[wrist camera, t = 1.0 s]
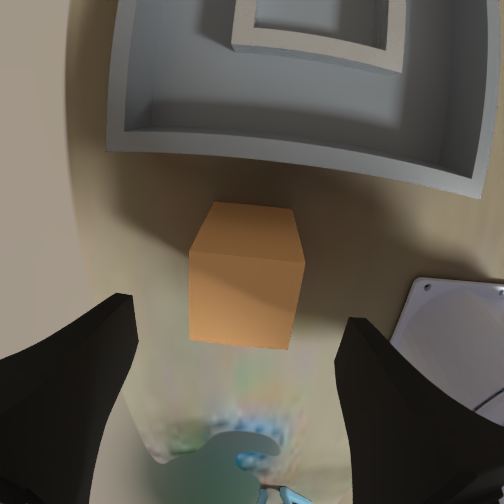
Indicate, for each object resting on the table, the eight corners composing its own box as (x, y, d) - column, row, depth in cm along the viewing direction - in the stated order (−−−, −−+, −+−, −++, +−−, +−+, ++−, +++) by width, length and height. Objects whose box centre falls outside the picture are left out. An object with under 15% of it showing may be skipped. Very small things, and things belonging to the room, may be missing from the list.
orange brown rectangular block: (292, 209, 16) (305, 263, 11) (281, 277, 18) (287, 349, 13) (214, 201, 16) (189, 251, 11) (210, 269, 18) (189, 339, 13)
